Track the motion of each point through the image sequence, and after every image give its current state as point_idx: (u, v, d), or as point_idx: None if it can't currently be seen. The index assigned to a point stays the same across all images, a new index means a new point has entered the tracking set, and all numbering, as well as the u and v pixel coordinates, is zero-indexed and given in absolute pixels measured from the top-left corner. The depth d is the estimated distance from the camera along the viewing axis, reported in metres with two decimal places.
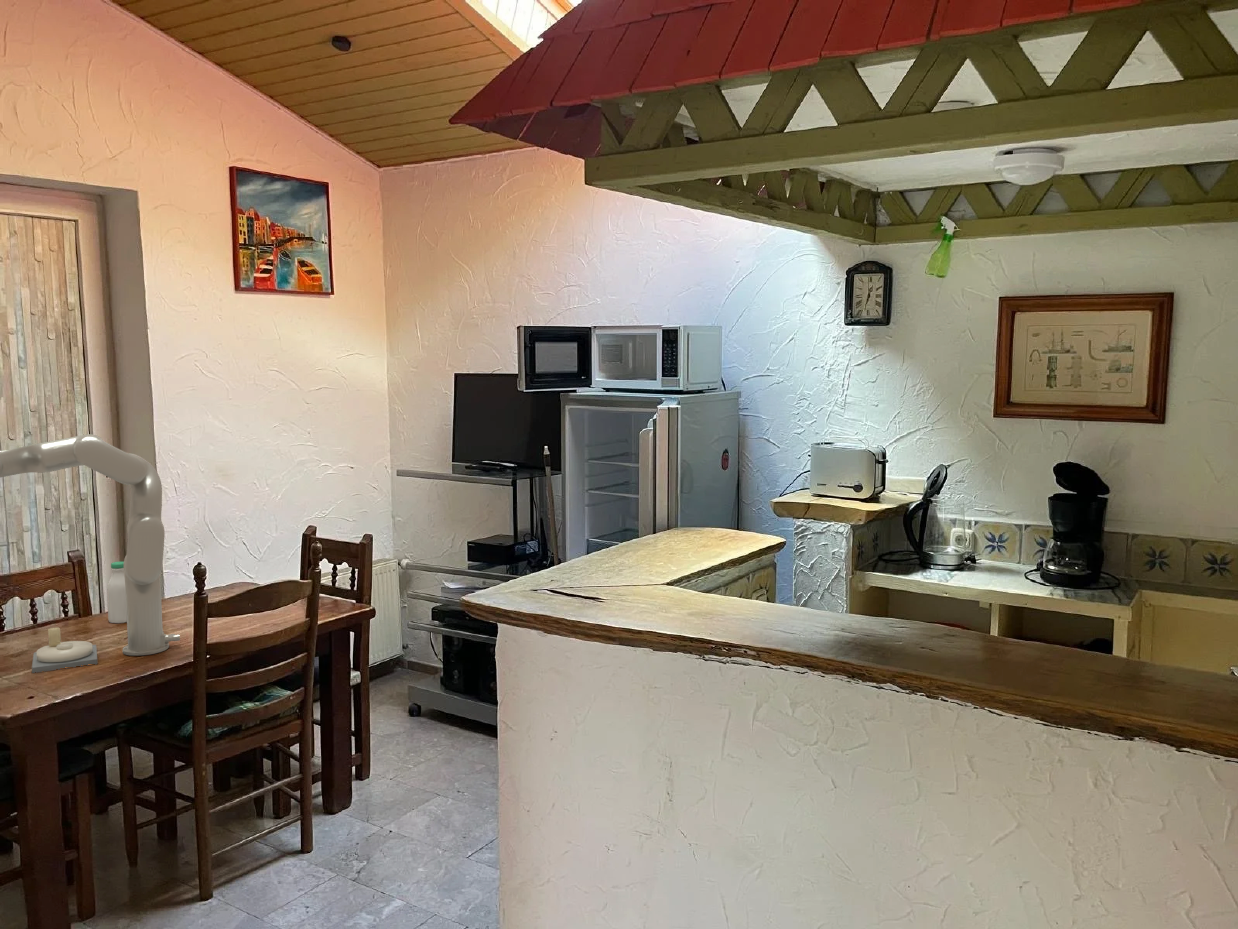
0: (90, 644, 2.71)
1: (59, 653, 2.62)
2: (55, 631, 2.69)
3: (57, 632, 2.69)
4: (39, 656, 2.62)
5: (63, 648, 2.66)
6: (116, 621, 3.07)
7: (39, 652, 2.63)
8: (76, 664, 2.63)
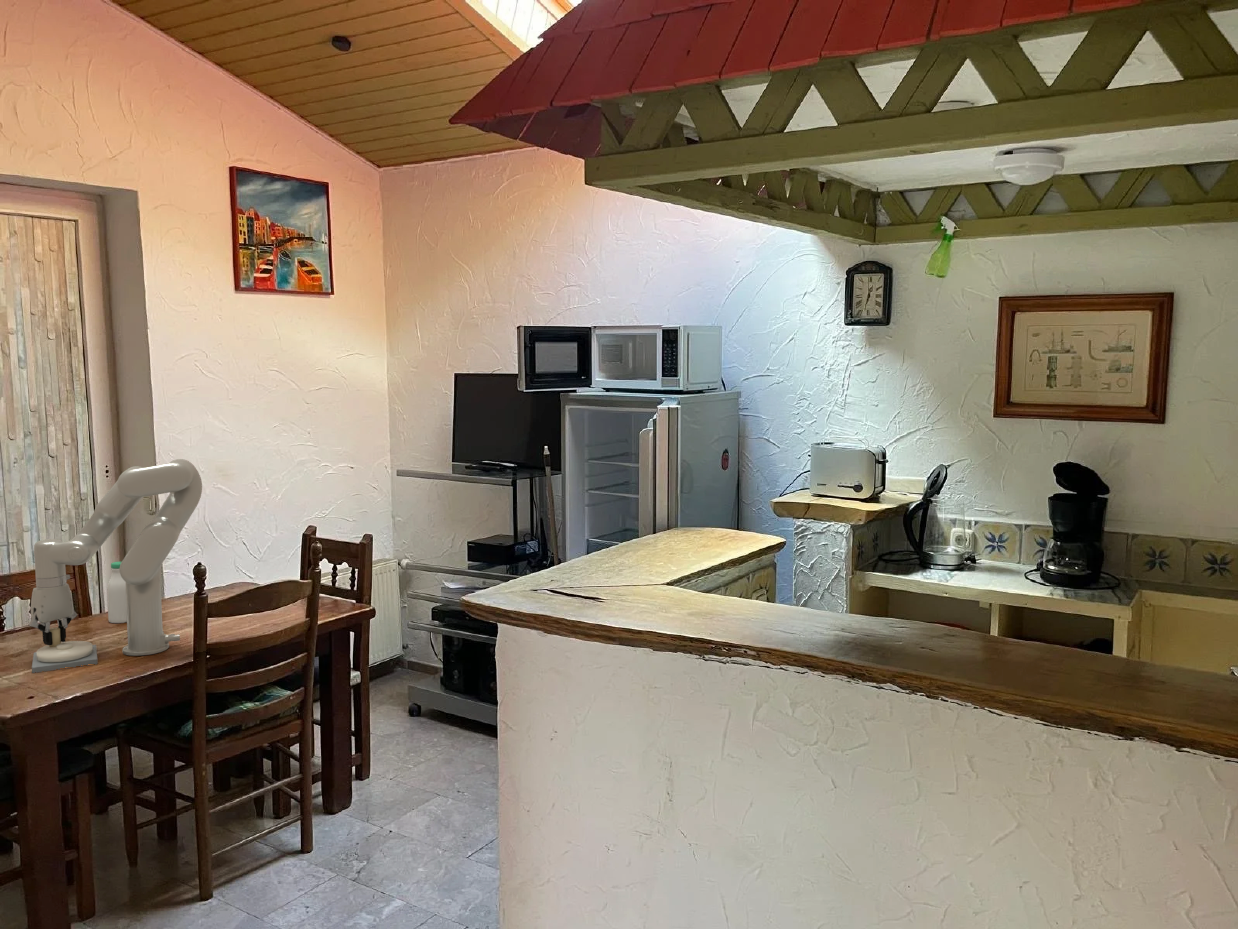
0: (90, 644, 2.71)
1: (59, 653, 2.62)
2: (55, 631, 2.69)
3: (57, 632, 2.69)
4: (39, 656, 2.62)
5: (63, 648, 2.66)
6: (116, 621, 3.07)
7: (39, 652, 2.63)
8: (76, 664, 2.63)
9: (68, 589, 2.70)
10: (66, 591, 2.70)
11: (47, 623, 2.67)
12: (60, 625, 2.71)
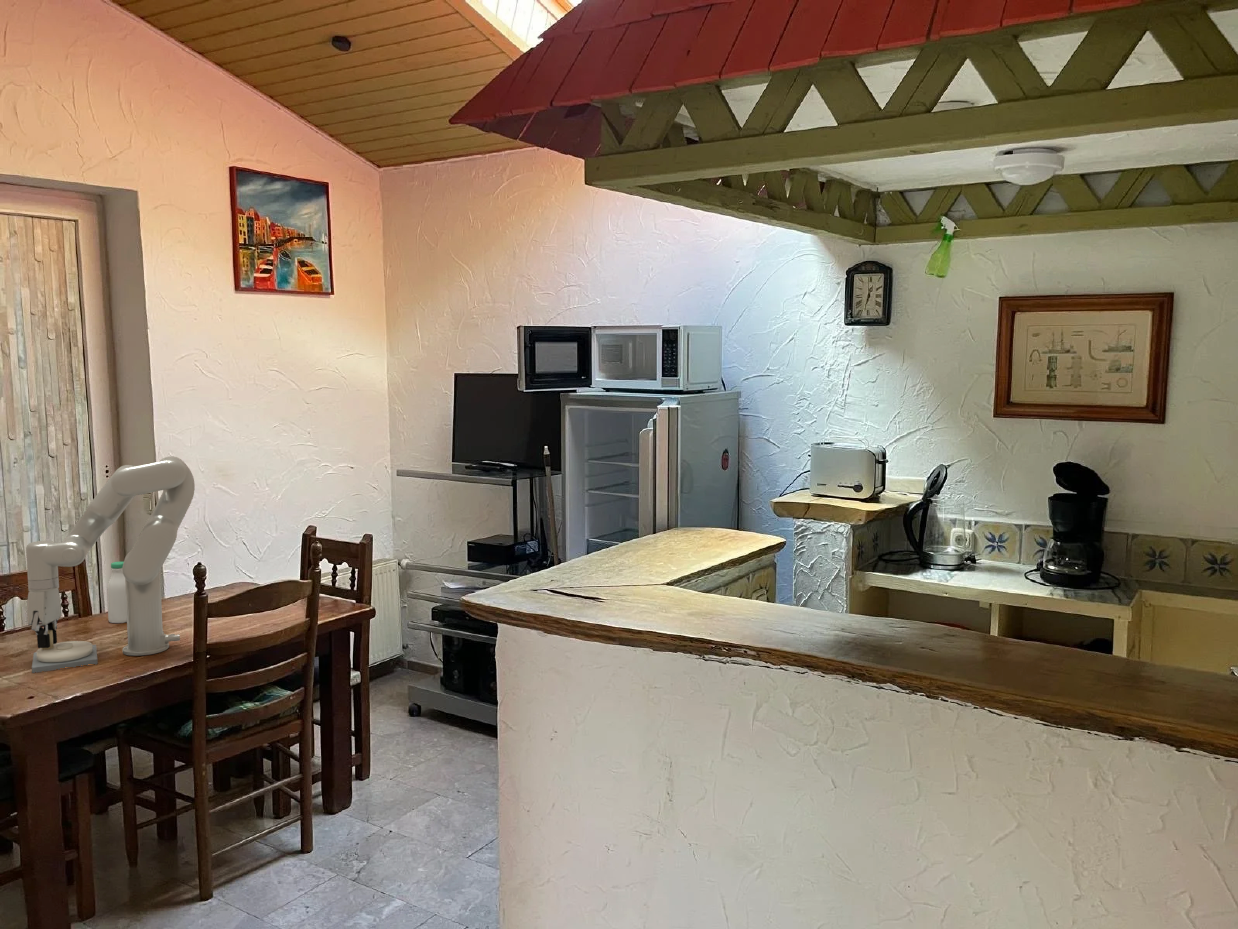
0: (86, 642, 2.73)
1: (71, 652, 2.64)
2: (50, 633, 2.67)
3: (52, 634, 2.67)
4: (49, 657, 2.61)
5: (67, 647, 2.66)
6: (116, 621, 3.07)
7: (45, 654, 2.62)
8: (76, 664, 2.63)
9: (58, 590, 2.70)
10: (57, 592, 2.69)
11: (46, 625, 2.64)
12: (49, 627, 2.69)
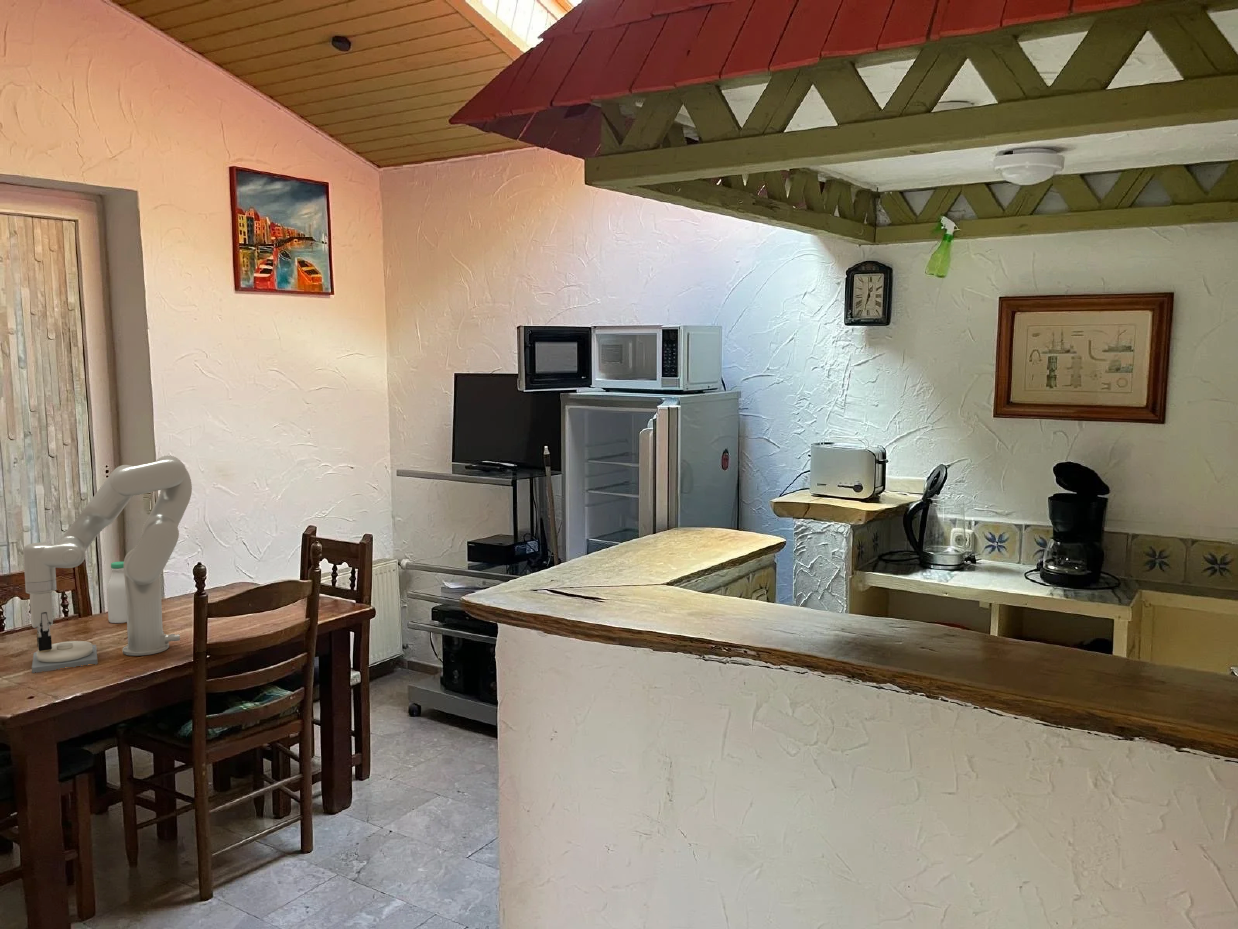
0: (75, 641, 2.74)
1: (81, 649, 2.67)
2: None
3: None
4: (63, 657, 2.62)
5: (70, 646, 2.67)
6: (116, 621, 3.07)
7: (57, 654, 2.62)
8: (76, 664, 2.63)
9: None
10: None
11: (49, 626, 2.63)
12: None
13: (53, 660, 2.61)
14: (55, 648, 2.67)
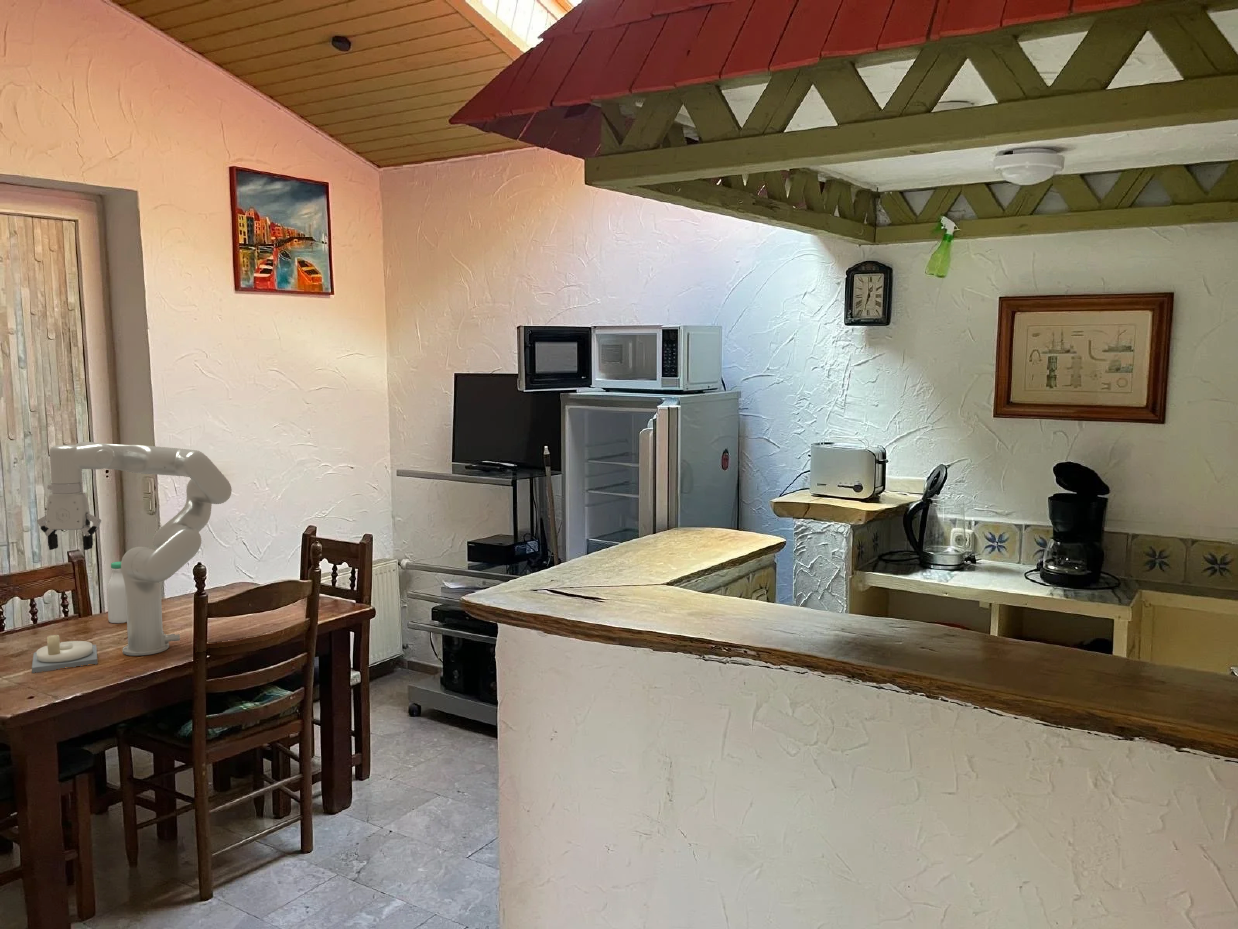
0: None
1: (86, 644, 2.72)
2: None
3: None
4: (87, 651, 2.67)
5: None
6: (116, 621, 3.07)
7: (81, 650, 2.66)
8: (76, 664, 2.63)
9: None
10: None
11: None
12: (52, 533, 2.58)
13: (80, 656, 2.65)
14: None
